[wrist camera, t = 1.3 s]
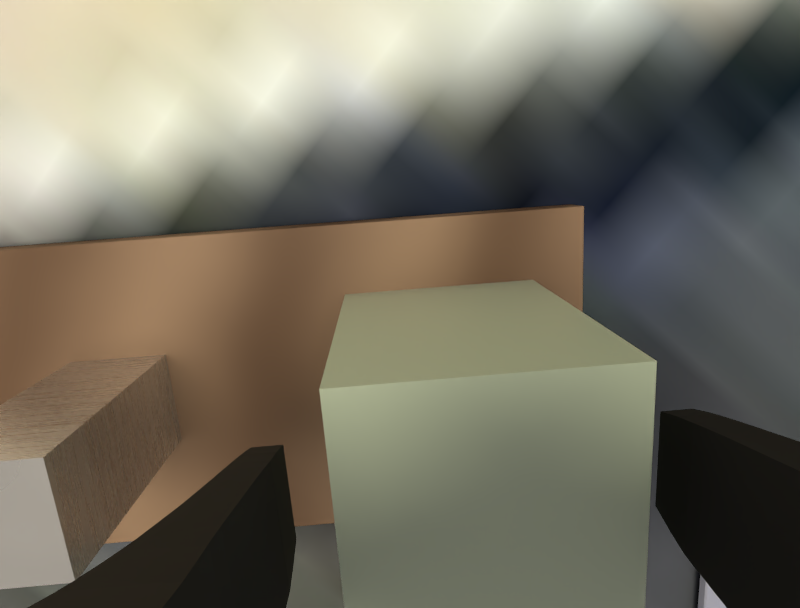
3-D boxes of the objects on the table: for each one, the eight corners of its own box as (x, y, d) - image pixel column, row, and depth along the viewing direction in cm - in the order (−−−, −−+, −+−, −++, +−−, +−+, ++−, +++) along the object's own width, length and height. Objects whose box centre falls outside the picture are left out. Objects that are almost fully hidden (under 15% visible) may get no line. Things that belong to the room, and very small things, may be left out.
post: (165, 354, 15) (43, 457, 9) (181, 439, 15) (75, 582, 10) (70, 361, 14) (-108, 470, 9) (90, 447, 15) (-66, 595, 10)
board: (570, 204, 15) (583, 206, 14) (568, 482, 17) (580, 501, 16) (-33, 249, 15) (-62, 254, 14) (43, 529, 17) (22, 550, 16)
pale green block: (533, 279, 14) (657, 360, 8) (534, 449, 16) (643, 637, 9) (344, 294, 14) (319, 389, 8) (361, 464, 16) (350, 665, 9)
